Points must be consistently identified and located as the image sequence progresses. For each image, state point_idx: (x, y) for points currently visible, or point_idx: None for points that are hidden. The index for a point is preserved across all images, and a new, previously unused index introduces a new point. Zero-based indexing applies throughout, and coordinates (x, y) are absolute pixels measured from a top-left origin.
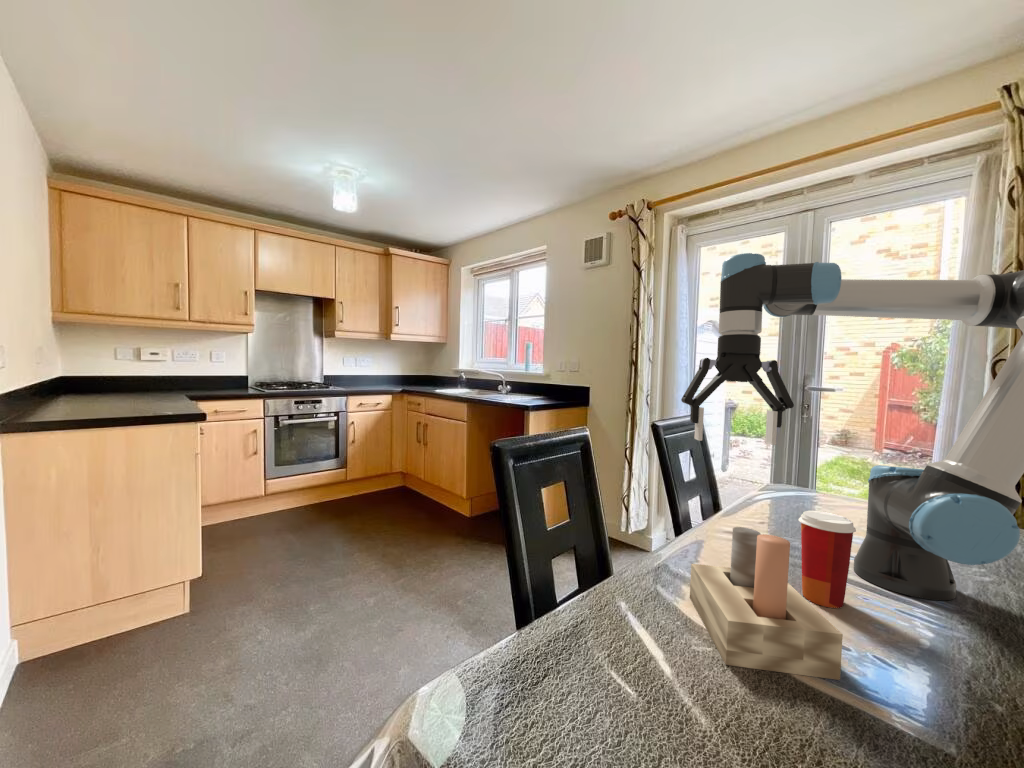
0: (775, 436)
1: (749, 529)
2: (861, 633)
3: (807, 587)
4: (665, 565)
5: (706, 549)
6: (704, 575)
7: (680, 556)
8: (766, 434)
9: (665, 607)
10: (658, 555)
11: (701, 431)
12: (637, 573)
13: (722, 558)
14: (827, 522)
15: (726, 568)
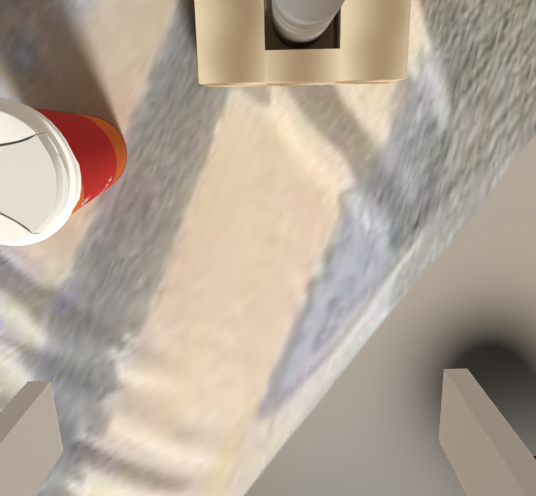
0: (6, 411)
1: (293, 2)
2: (74, 17)
3: (118, 143)
4: (396, 239)
5: (267, 360)
6: (396, 7)
7: (344, 301)
8: (39, 478)
9: (454, 20)
10: (398, 293)
11: (473, 401)
12: (476, 177)
13: (243, 316)
14: (13, 115)
15: (322, 71)
